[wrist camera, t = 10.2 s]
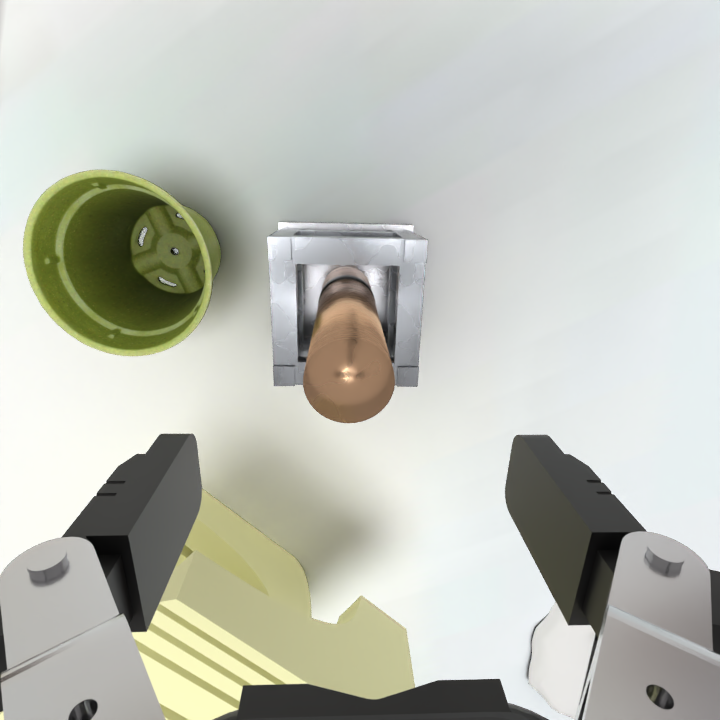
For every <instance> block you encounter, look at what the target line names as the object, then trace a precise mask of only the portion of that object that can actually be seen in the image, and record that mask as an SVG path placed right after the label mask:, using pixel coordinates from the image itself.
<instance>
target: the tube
mask: <svg viewBox="0 0 720 720" xmlns="http://www.w3.org/2000/svg"><path fill="white" fill-rule="evenodd" d="M394 386H395V375H394V370H393V366H392V363H391V359H390V356H389V352H388V348H387V345H386V341H385V337H384V334H383V330H382V326H381V323H380V319H379V316H378V312H377V308H376V303H375V298H374V295H373V292H372V290H371V286H370V283H369V281H368V279H367V277H366V276H365V275H364V274H363V273H362V272H361V271H360V270H358V269H356V268H353V267H340V268H337V269H335V270H333V271H332V272H331V273H329V274H328V276H327V277H326V278H325V280H324V283H323V286H322V291H321V293H320V296H319V301H318V310H317V314H316V319H315V324H314V328H313V333H312V338H311V342H310V347H309V352H308V356H307V361H306V365H305V370H304V375H303V387H304V392H305V395H306V397H307V399H308V401H309V403H310V404H311V405H312V407H313V408H314V409H315V410H316V411H317V412H318V413H320V414H321V415H323V416H324V417H326V418H328V419H330V420H333V421H336V422H341V423H356V422H361V421H364V420H367V419H369V418H371V417H373V416H375V415H376V414H378V413H379V412H380V411H381V410H382V409H383V408H384V407H385V406H386V405H387V404H388V402H389V400H390V399H391V396H392V394H393V391H394Z"/></svg>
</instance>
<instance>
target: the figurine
mask: <svg viewBox="0 0 720 720" xmlns="http://www.w3.org/2000/svg"><path fill="white" fill-rule="evenodd" d="M594 637H595V632H594V630H593V629H592V627H591V625H570V626H568V624H567V622H566V620H565V618H564V616H563V614H562V612H561V611H560V609H559V607H558V605H557V603H556V602H555V603H554V605H553V607H552V608H551V610H550V612H549V614H548V615H547V616H546V617H545V619H544V620H543V621H542V622H541V623H540V624H539V625H538V626H537V627H536V629H535V632H534V635H533V639H532V658H531V662H530V667H529V681H528V684H529V685H530V686H531V687H532V688H533V689H535V690H536V691H537V692H538V693H539V694H540V695H541V696H542V697H543V698H544V699H545V700H546V702H547V703H548V704H549V705H550V707H551V708H552V709H554V710H555V711H557V712H558V713H562V714H564V715H566V716H569V717H571V718H573V719H575V715H576V711H577V707H578V703H579V698H580V694H581V690H582V686H583V682H584V677H585V673H586V669H587V665H588V660H589V656H590V652H591V648H592V644H593V640H594Z"/></svg>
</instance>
